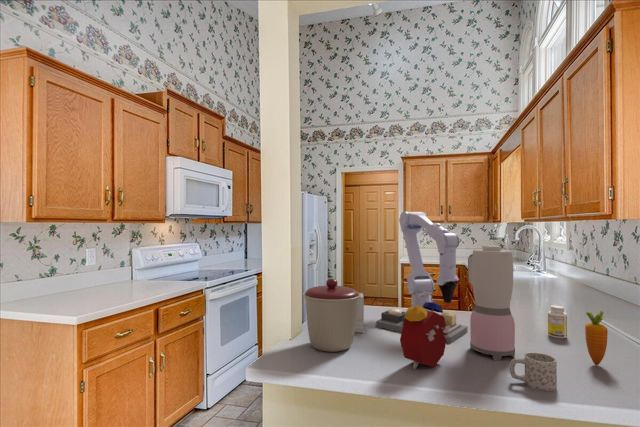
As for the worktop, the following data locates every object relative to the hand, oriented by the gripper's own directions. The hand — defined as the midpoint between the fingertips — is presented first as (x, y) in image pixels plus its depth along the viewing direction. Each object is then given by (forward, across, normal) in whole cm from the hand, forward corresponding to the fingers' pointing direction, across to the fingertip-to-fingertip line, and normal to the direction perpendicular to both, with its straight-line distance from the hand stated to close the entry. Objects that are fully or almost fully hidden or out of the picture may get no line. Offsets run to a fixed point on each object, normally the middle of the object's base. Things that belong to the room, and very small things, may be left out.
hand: (447, 302), depth 134 cm
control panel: (+9, -8, +7) cm, 14 cm away
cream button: (+6, -9, +17) cm, 20 cm away
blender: (+10, -14, -18) cm, 25 cm away
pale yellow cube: (+7, -5, -2) cm, 9 cm away
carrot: (+10, -6, -44) cm, 46 cm away
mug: (+10, -31, -34) cm, 47 cm away
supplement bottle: (+10, +17, -32) cm, 37 cm away
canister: (+10, -44, +19) cm, 49 cm away
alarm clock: (+10, -37, -10) cm, 40 cm away
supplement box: (+10, -25, +24) cm, 36 cm away
